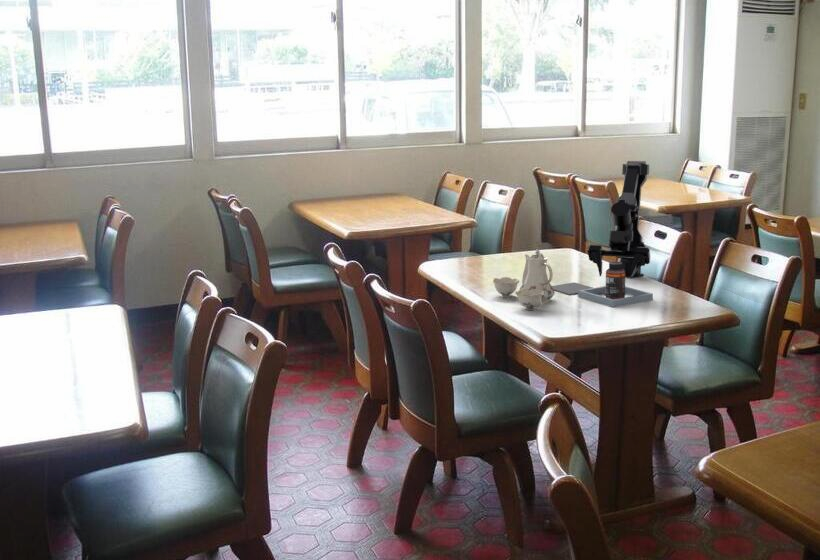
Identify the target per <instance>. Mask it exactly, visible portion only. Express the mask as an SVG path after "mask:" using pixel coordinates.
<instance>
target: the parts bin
mask: <svg viewBox="0 0 820 560" xmlns="http://www.w3.org/2000/svg"><path fill="white" fill-rule="evenodd" d="M605 291H606V285H603V286H597V287H593V288H590V289H584V290H578V294H577V297H578V298H580V299H584V300H587V301H591V302H594V303H598V304H602V305H604V306H608V307H611V308H616V307H617V308H618V307H620V306H622V307H623V306H626V305H627V306H628V305H632V304H638V303H644V302H650V301H653V300H654V293H651V292H648V291H645V290H641V289H637V288H633V287H629V286H626V285H625V295H629V296H625V298H620V299H614V300H613V299H610V298H606V297H605V296H602V294H605Z"/></svg>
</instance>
